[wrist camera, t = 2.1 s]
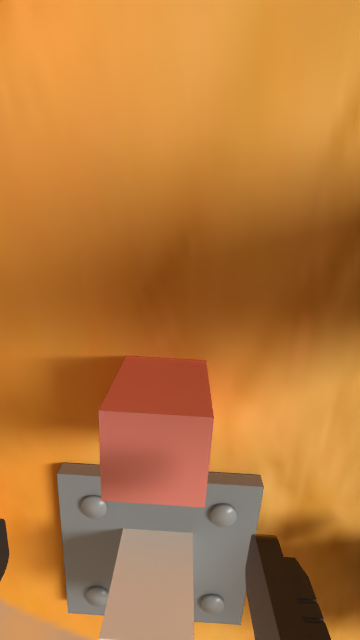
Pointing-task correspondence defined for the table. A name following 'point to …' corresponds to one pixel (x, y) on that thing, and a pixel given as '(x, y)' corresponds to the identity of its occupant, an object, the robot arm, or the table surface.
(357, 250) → the table surface
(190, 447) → the red brick
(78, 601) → the base plate
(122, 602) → the cream brick
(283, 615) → the robot arm
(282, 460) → the table surface
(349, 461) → the table surface
